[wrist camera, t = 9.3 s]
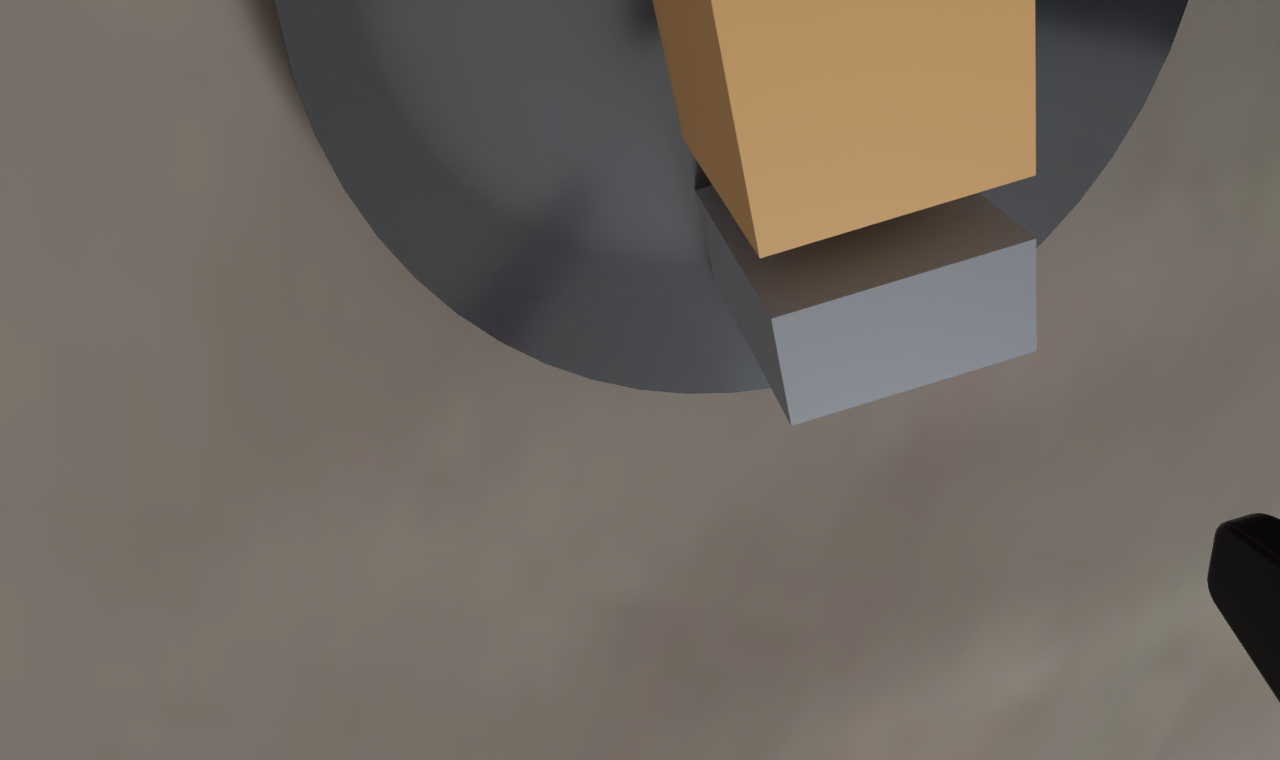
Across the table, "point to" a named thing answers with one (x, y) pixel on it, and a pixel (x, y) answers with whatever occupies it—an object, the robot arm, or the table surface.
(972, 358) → the tan and grey block
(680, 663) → the table surface
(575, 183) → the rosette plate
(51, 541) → the table surface
